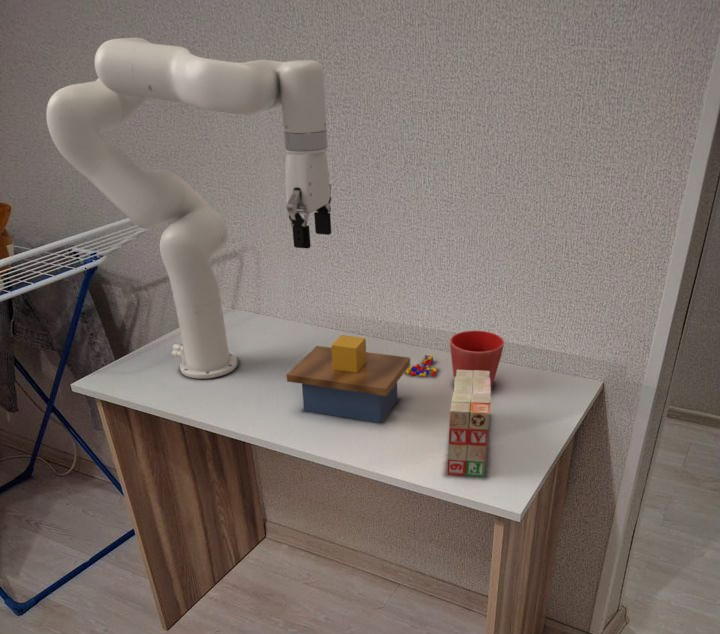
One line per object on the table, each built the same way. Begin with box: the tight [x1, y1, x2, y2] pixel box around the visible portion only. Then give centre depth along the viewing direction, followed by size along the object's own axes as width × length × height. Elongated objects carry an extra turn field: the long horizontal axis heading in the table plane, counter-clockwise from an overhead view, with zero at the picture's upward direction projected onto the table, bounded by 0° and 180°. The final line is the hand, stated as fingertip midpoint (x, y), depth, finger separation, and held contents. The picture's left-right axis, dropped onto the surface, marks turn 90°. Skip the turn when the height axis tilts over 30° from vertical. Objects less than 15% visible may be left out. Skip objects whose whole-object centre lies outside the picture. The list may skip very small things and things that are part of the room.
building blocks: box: [405, 353, 438, 378], centre depth 146 cm, size 6×8×2 cm
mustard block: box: [330, 334, 367, 373], centre depth 128 cm, size 5×5×5 cm
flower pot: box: [449, 330, 505, 388], centre depth 137 cm, size 11×11×10 cm
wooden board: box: [286, 345, 411, 396], centre depth 129 cm, size 20×14×2 cm
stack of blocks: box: [446, 370, 492, 478], centre depth 117 cm, size 21×6×12 cm, turn 170°
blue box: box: [301, 382, 398, 424], centre depth 132 cm, size 16×10×7 cm, turn 69°
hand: (313, 240), depth 130 cm, fingers open, 9 cm apart
